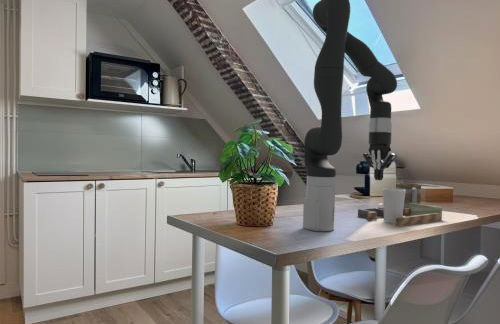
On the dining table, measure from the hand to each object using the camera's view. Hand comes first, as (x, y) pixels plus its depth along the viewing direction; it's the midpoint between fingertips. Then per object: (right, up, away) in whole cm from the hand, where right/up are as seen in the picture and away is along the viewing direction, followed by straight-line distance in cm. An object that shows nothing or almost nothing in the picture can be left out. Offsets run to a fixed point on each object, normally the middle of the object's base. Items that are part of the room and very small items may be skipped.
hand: (378, 180), depth 129 cm
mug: (+24, -16, +31) cm, 42 cm away
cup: (+7, -16, +5) cm, 18 cm away
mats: (+8, -15, +17) cm, 25 cm away
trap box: (+12, -16, +12) cm, 23 cm away
